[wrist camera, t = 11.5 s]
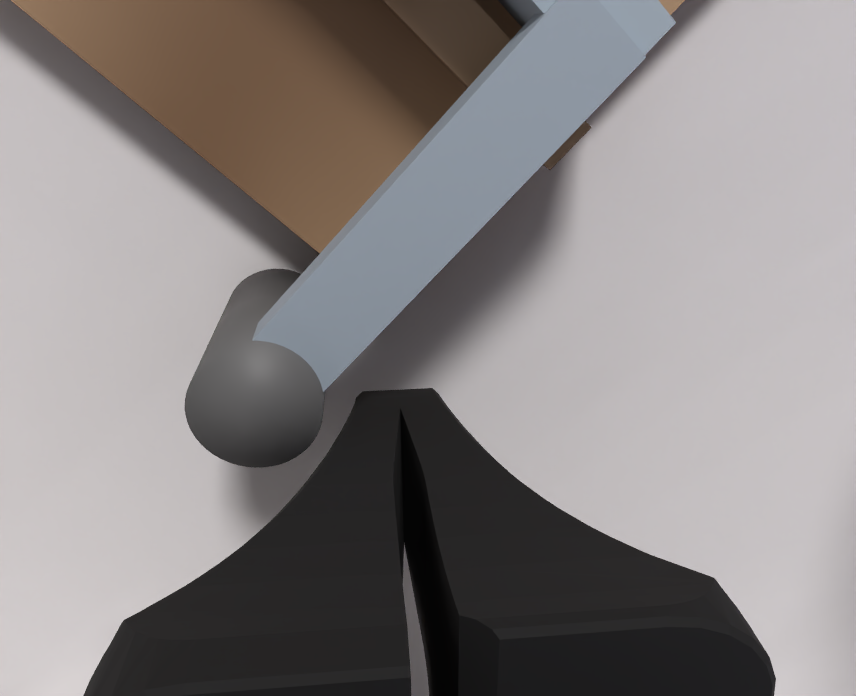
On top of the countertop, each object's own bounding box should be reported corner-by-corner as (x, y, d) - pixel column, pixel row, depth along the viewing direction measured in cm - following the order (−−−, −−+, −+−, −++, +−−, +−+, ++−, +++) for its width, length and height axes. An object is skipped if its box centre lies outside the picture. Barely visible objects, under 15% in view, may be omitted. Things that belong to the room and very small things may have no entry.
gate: (614, 36, 11) (706, 43, 8) (288, 382, 13) (267, 489, 10) (62, -616, 7) (-128, -1015, 5) (-256, -11, 10) (-525, -24, 7)
